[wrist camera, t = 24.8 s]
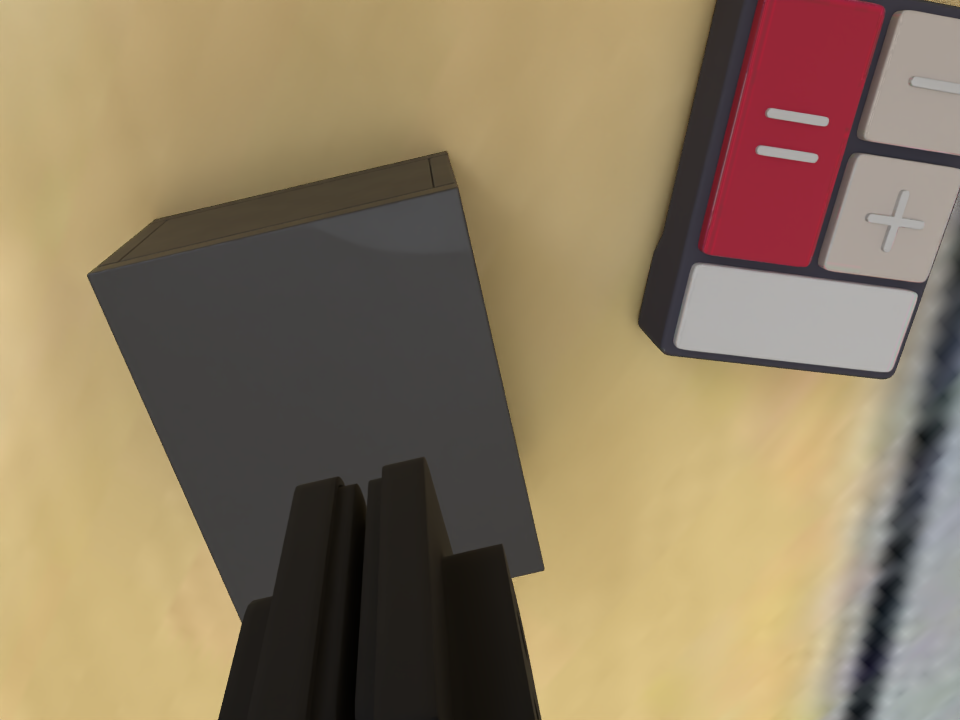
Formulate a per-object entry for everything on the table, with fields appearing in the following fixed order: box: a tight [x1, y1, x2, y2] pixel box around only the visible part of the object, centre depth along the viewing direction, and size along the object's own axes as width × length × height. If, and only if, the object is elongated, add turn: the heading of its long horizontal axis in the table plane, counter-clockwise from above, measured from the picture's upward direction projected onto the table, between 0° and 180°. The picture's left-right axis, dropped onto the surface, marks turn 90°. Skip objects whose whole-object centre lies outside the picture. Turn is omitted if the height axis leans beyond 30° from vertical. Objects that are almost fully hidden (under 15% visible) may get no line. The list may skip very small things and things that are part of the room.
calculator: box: [638, 0, 960, 379], centre depth 33 cm, size 11×4×15 cm
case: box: [96, 151, 457, 268], centre depth 33 cm, size 16×13×7 cm
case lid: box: [87, 183, 544, 622], centre depth 29 cm, size 16×13×1 cm
